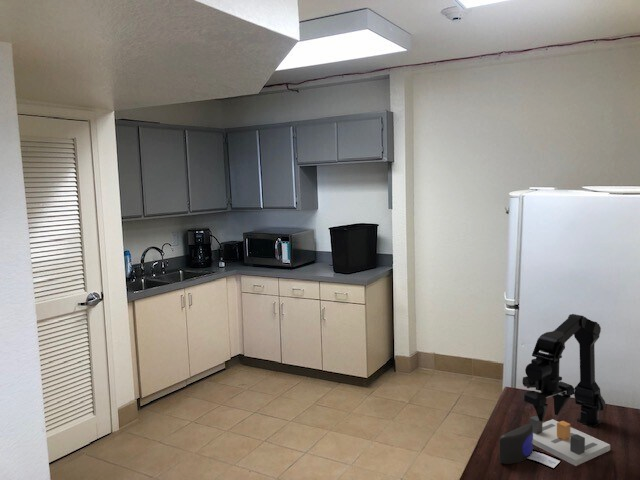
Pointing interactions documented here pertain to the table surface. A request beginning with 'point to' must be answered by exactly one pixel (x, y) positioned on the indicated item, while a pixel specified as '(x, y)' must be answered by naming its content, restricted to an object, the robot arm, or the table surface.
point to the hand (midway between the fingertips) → (548, 417)
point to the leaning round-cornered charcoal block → (516, 445)
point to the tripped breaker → (563, 430)
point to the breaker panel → (566, 442)
